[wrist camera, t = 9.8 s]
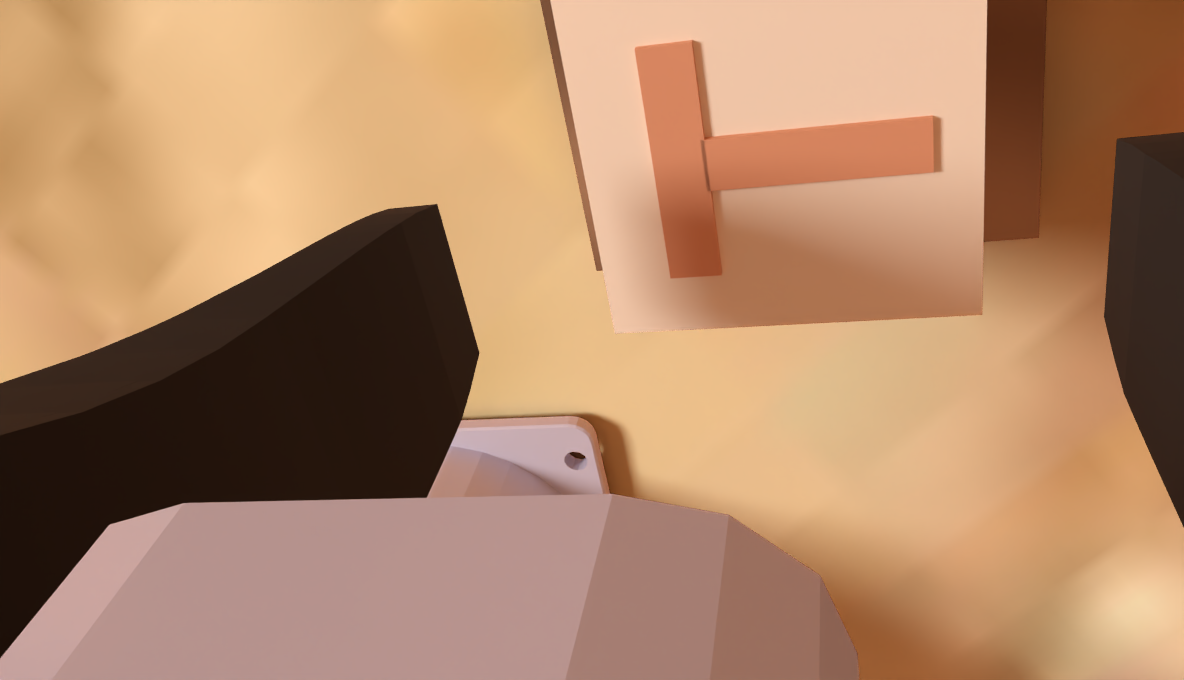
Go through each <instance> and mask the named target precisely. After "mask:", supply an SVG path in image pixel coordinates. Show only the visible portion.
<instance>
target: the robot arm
mask: <svg viewBox="0 0 1184 680" xmlns="http://www.w3.org/2000/svg"><path fill="white" fill-rule="evenodd" d="M1104 318H1105V322H1106V326H1107V331H1108V335H1109V339H1110V343H1111V347H1112V351H1113V355H1114V359H1115V363H1116V366H1117V370H1118V373H1119V377H1120V381H1121V384H1122V388H1123V392H1124V394H1125V397H1126V399H1127V402H1128V404H1129V406H1130V409H1131V411H1132V413H1133V415H1134V418H1135V420H1136V422H1137V425H1138V427H1139V429H1140V431H1141V434H1142V436H1143V438H1144V440H1145V443H1146V445H1147V447H1148V449H1149V452H1150V454H1151V456H1152V458H1153V461H1154V463H1155V465H1156V467H1157V469H1158V472H1159V474H1160V476H1161V478H1162V480H1163V483H1164V485H1165V487H1166V489H1167V491H1168V494H1169V496H1170V498H1171V500H1172V503H1173V505H1174V507H1175V509H1176V511H1177V514H1178V516H1179V518H1180V520H1181V522H1182V525H1183V527H1184V132H1182V133H1171V134H1161V135H1151V136H1140V137H1130V138H1119V139H1117V145H1116V159H1115V173H1114V187H1113V200H1112V214H1111V228H1110V242H1109V256H1108V270H1107V284H1106V298H1105V312H1104ZM478 356H479V350H478V347H477V343H476V340H475V336H474V332H473V329H472V325H471V322H470V318H469V315H468V311H467V308H466V304H465V301H464V297H463V294H462V290H461V287H460V283H459V280H458V276H457V273H456V269H455V266H454V262H453V259H452V255H451V252H450V248H449V245H448V241H447V237H446V234H445V230H444V227H443V223H442V220H441V216H440V213H439V209H438V206H437V204H435V205H424V206H414V207H403V208H393V209H387V210H384V211H381V212H378V213H374V214H372V215H369V216H367V217H365V218H362V219H360V220H358V221H356V222H354V223H352V224H350V225H348V226H346V227H343V228H342V229H340V230H338V231H336V232H334V233H332V234H330V235H328V236H326V237H324V238H323V239H321V240H319V241H317V242H315V243H313V244H311V245H310V246H308V247H306V248H304V249H302V250H301V251H299V252H297V253H295V254H293V255H291V256H290V257H288V258H286V259H284V260H282V261H281V262H279V263H277V264H275V265H273V266H272V267H270V268H268V269H266V270H264V271H262V272H261V273H259V274H257V275H255V276H253V277H251V278H249V279H247V280H245V281H244V282H242V283H240V284H238V285H236V286H234V287H232V288H230V289H228V290H226V291H224V292H222V293H220V294H218V295H216V296H214V297H212V298H211V299H209V300H207V301H205V302H203V303H201V304H199V305H197V306H195V307H193V308H191V309H189V310H187V311H185V312H183V313H181V314H179V315H177V316H175V317H173V318H171V319H168V320H166V321H164V322H162V323H160V324H157V325H155V326H153V327H151V328H149V329H146V330H144V331H142V332H139V333H137V334H135V335H132V336H130V337H127V338H125V339H122V340H120V341H118V342H115V343H113V344H110V345H108V346H106V347H103V348H101V349H98V350H96V351H93V352H90V353H88V354H85V355H83V356H80V357H77V358H74V359H71V360H68V361H65V362H62V363H59V364H56V365H53V366H50V367H47V368H45V369H42V370H39V371H36V372H33V373H30V374H27V375H24V376H21V377H18V378H15V379H12V380H9V381H6V382H3V383H0V680H860V678H859V666H858V654H857V651H856V649H855V647H854V645H853V643H852V641H851V639H850V637H849V635H848V633H847V631H846V628H845V626H844V624H843V622H842V620H841V618H840V616H839V614H838V612H837V610H836V608H835V605H834V603H833V601H832V599H831V597H830V595H829V593H828V591H827V589H826V587H825V584H824V582H823V580H822V578H821V576H820V575H819V574H817V573H816V572H814V571H813V570H811V569H810V568H808V567H806V566H805V565H803V564H802V563H800V562H799V561H797V560H796V559H794V558H793V557H791V556H790V555H788V554H787V553H785V552H784V551H782V550H781V549H779V548H778V547H776V546H775V545H773V544H772V543H770V542H769V541H767V540H766V539H764V538H763V537H761V536H760V535H758V534H757V533H755V532H754V531H752V530H751V529H749V528H748V527H746V526H745V525H743V524H742V523H740V522H739V521H737V520H736V519H734V518H733V517H731V516H730V515H726V514H721V513H715V512H710V511H704V510H699V509H693V508H688V507H682V506H677V505H671V504H666V503H660V502H655V501H649V500H644V499H638V498H633V497H627V496H622V495H616V494H610V491H609V487H608V483H607V478H606V474H605V470H604V465H603V461H602V457H601V452H600V448H599V443H598V439H597V435H596V432H595V430H594V428H593V426H592V425H591V424H590V423H589V422H588V421H587V420H584V419H582V418H580V417H575V416H557V417H531V418H506V419H481V420H462V417H463V413H464V410H465V406H466V403H467V399H468V396H469V393H470V389H471V385H472V381H473V377H474V373H475V368H476V364H477V360H478ZM570 452H579V453H581V454H582V455H584V456H585V457H586V458H584V459H578V458H575V457H573V456H572V455H570Z"/></svg>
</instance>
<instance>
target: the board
mask: <svg viewBox="0 0 1184 680" xmlns="http://www.w3.org/2000/svg"><path fill="white" fill-rule="evenodd" d="M540 1H541V6H542V11H543V15H544V20H545V25H546V30H547V35H548V39H549V44H550V49H551V54H552V59H553V63H554V68H555V73H556V78H557V83H558V87H559V92H560V97H561V102H562V107H563V111H564V116H565V121H566V126H567V131H568V135H569V140H570V145H571V150H572V155H573V159H574V164H575V169H576V174H577V179H578V183H579V188H580V193H581V198H582V203H583V207H584V212H585V217H586V222H587V227H588V231H589V236H590V241H591V246H592V251H593V255H594V260H595V265H596V270H597V271H600V270H603V269H602V264H601V259H600V254H599V248H598V243H597V238H596V233H595V228H594V223H593V218H592V212H591V207H590V202H589V197H588V192H587V187H586V182H585V176H584V171H583V166H582V161H581V156H580V151H579V146H578V140H577V135H576V130H575V125H574V120H573V115H572V110H571V104H570V99H569V94H568V89H567V84H566V79H565V74H564V68H563V63H562V58H561V53H560V48H559V43H558V38H557V32H556V27H555V22H554V17H553V12H552V7H551V2H550V0H540ZM1046 11H1047V0H987V45H986V109H985V172H984V236H983V242H987V241H1000V240H1013V239H1027V238H1039V214H1040V185H1041V156H1042V127H1043V98H1044V69H1045V40H1046Z"/></svg>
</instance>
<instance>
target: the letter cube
mask: <svg viewBox="0 0 1184 680" xmlns="http://www.w3.org/2000/svg"><path fill="white" fill-rule="evenodd" d="M550 2H551V7H552V12H553V17H554V22H555V27H556V32H557V38H558V43H559V48H560V53H561V58H562V63H563V68H564V74H565V79H566V84H567V89H568V94H569V99H570V104H571V110H572V115H573V120H574V125H575V130H576V135H577V140H578V146H579V151H580V156H581V161H582V166H583V171H584V176H585V182H586V187H587V192H588V197H589V202H590V207H591V212H592V218H593V223H594V228H595V233H596V238H597V243H598V248H599V254H600V259H601V264H602V269H603V274H604V279H605V284H606V290H607V295H608V300H609V305H610V310H611V315H612V321H613V326H614V331H615V333H635V332H654V331H674V330H694V329H713V328H733V327H752V326H772V325H791V324H811V323H831V322H850V321H870V320H889V319H909V318H928V317H948V316H967V315H982V300H983V236H984V172H985V109H986V45H987V0H550Z"/></svg>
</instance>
